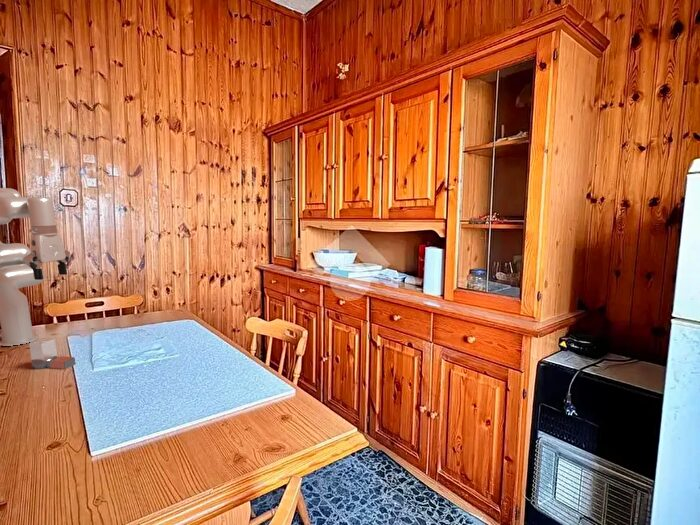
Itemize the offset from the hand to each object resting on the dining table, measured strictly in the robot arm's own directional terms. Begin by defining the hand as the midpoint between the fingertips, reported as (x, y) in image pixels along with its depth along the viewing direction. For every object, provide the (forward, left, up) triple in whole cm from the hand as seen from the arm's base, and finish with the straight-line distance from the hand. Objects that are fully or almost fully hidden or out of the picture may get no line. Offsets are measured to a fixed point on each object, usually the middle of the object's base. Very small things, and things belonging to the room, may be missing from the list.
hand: (51, 276), depth 150 cm
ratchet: (+12, -14, -28) cm, 34 cm away
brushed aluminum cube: (+8, -14, -26) cm, 30 cm away
